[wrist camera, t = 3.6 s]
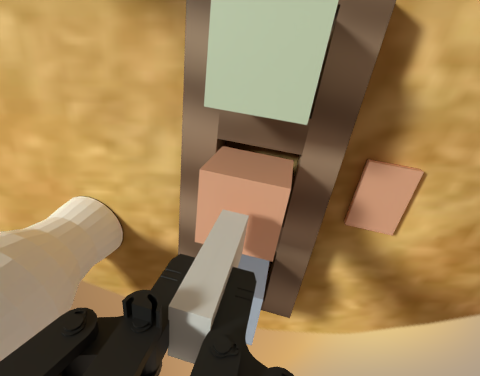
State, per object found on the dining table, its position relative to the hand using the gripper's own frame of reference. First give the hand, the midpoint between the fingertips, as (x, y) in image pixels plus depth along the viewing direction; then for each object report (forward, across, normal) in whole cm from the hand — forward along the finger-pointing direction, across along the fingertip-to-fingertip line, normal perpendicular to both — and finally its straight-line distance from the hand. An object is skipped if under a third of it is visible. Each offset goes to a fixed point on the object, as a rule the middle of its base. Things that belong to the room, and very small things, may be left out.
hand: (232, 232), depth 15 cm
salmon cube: (+7, 0, 0) cm, 7 cm away
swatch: (+10, +10, 0) cm, 14 cm away
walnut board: (+10, 0, 0) cm, 10 cm away
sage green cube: (+7, 0, +9) cm, 11 cm away
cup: (+10, -18, -11) cm, 23 cm away
